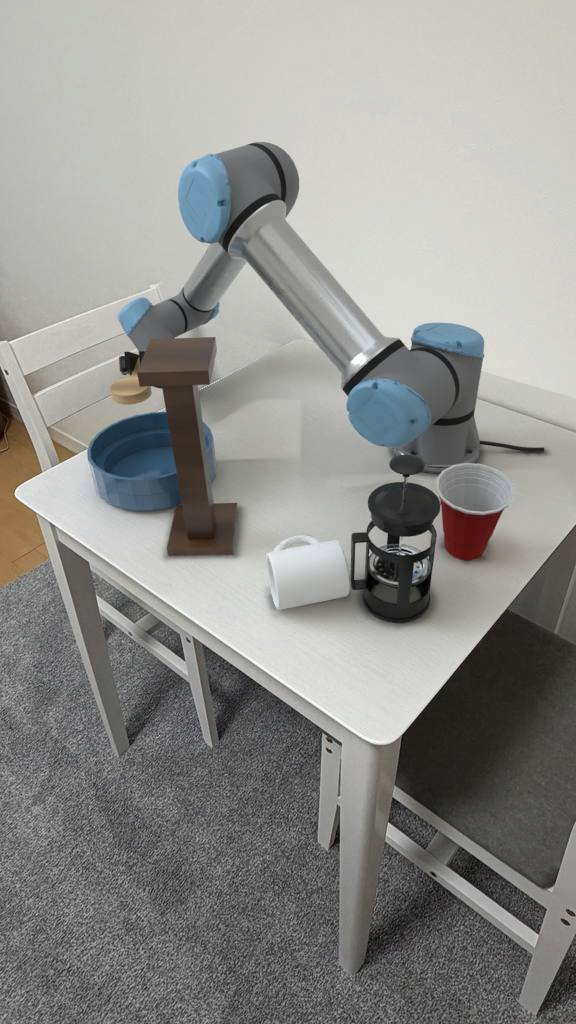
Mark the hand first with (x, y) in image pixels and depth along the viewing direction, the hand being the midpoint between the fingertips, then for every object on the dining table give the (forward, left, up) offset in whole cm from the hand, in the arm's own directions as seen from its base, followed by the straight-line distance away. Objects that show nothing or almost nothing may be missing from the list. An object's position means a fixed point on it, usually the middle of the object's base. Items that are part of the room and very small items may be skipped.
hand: (134, 360), depth 107 cm
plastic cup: (-50, +21, -23) cm, 59 cm away
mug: (-26, +28, -23) cm, 44 cm away
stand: (-10, +15, -22) cm, 29 cm away
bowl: (0, 0, -22) cm, 22 cm away
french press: (-38, +31, -23) cm, 54 cm away
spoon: (0, 0, -3) cm, 3 cm away
